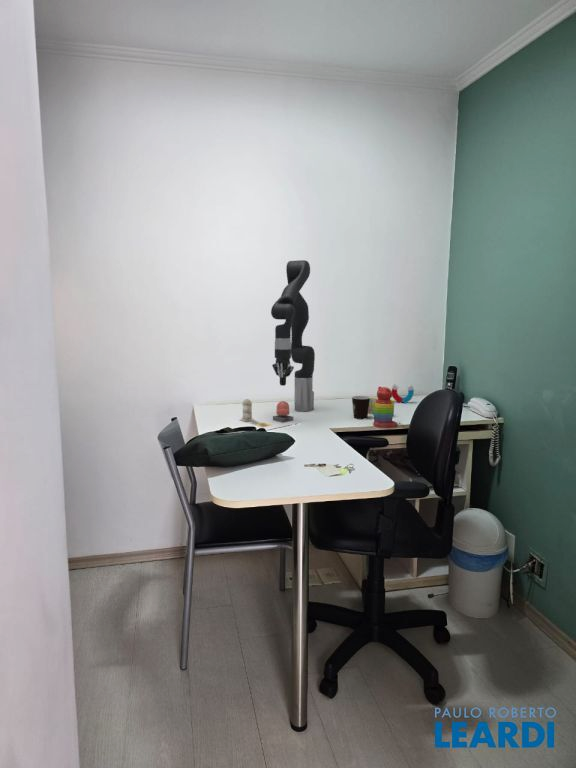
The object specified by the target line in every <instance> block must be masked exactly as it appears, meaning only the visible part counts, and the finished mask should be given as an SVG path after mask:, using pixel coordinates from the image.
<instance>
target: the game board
mask: <svg viewBox="0 0 576 768" xmlns="http://www.w3.org/2000/svg"><path fill="white" fill-rule="evenodd" d="M238 421H241V419H238ZM272 421H274V422H275V421H276V422H279V423H281V424H284V423H287V422H292V421H294V416H292V415H277V414H276V415H273V416H272ZM241 422H243V423H247V424H251V425H254V426H258V427H261V428H266V427H270V426H272V424H271V423H267V422H263V421H259V420H257V419H256V420H255V419H253V421H250V422H244V421H241ZM298 423H299V422H298ZM298 423H296V425H299V424H298ZM290 425H291V424H289V425H284V426H280V427H279V426H278V427H275V428H271V429H266V430H267V431H272V430H276V429H281V428H285V427H290ZM267 431H266V432H267Z"/></svg>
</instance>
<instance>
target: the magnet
mask: <svg viewBox="0 0 576 768" xmlns="http://www.w3.org/2000/svg"><path fill="white" fill-rule="evenodd" d="M406 388H407V391H408V392H407V394H406V396H400V395H399V393H398V389H399V386H398V385H397V384H395V383H393V386H392V388H391V391H392V398H393V400H394V401H395V402H397V403H399V402H404V403H403V404H406V403H408V402H410V401H411V400H412V399H413V396H414V392H415V391H414V386H413V384H410V385H409V386H407V387H406Z"/></svg>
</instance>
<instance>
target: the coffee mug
mask: <svg viewBox="0 0 576 768" xmlns="http://www.w3.org/2000/svg"><path fill="white" fill-rule="evenodd" d="M369 401H370V396H366V395H356V396H355V395H354V396H351V402H352V412H353V418H354V419H355V420H366V419H368V415H369V414H368V408H369Z"/></svg>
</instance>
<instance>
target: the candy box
mask: <svg viewBox="0 0 576 768" xmlns="http://www.w3.org/2000/svg"><path fill="white" fill-rule="evenodd" d="M369 397H370V396H369ZM377 399H378V397H370V401H369V408H368V415H369V414H370V415H373V407H374V404H375V402H376V400H377ZM390 400H391V401H392V403H393V408H394V409H395V399H390ZM394 416H395V415H393V417H394Z"/></svg>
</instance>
